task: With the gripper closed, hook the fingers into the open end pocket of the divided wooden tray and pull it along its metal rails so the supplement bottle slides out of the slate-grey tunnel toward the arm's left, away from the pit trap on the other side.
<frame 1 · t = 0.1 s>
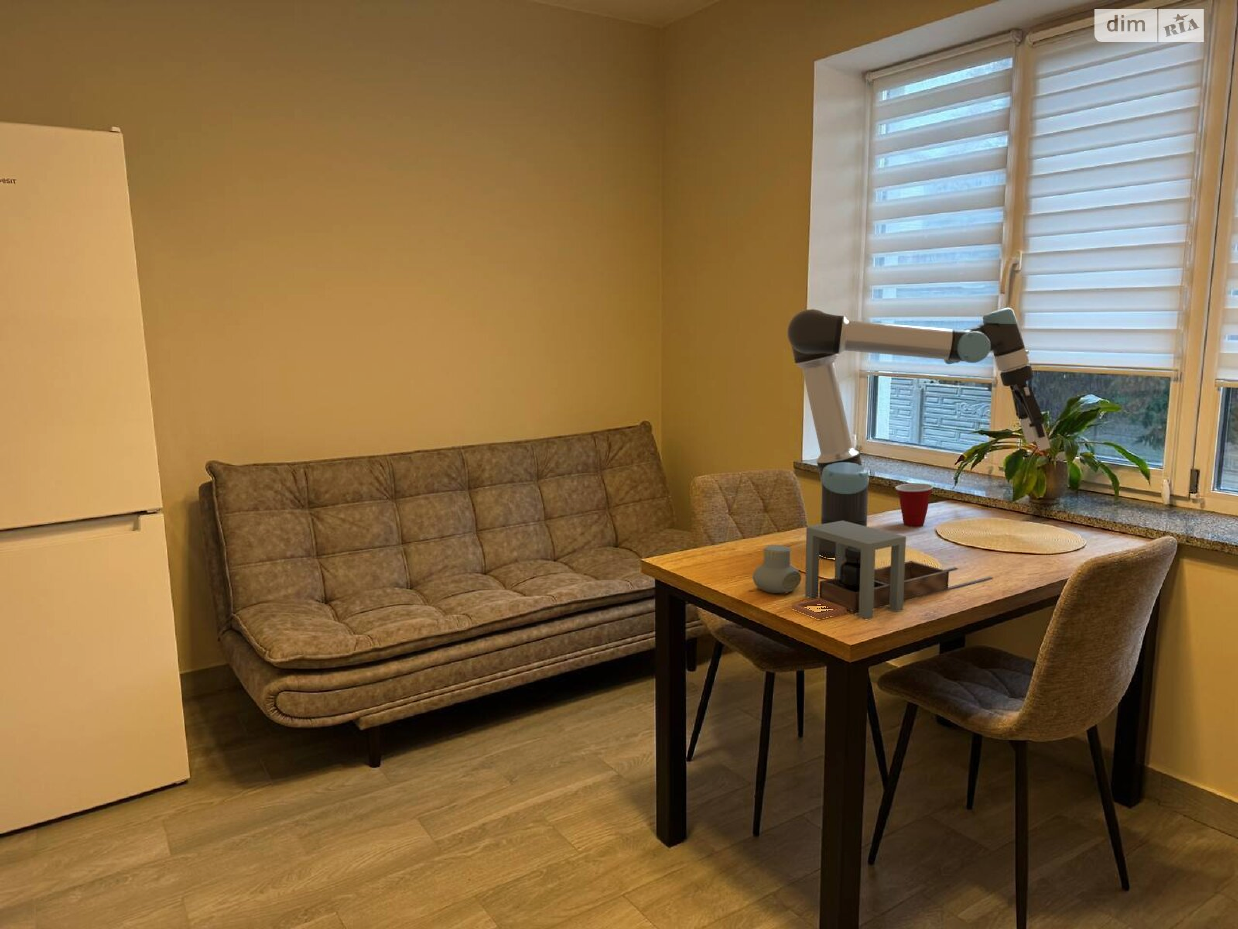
hand: (1038, 445, 226), 28 cm above the table, tool tilted 20°, fingers open, 13 cm apart
tunnel: (854, 602, 189), on the table
plastic cup: (912, 525, 259), on the table
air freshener: (776, 591, 199), on the table
pit trap: (818, 611, 184), on the table
divided wooden tray: (884, 585, 194), point 2 cm above the table, slide at 0.0 cm
supplement bottle: (854, 603, 189), resting in divided wooden tray
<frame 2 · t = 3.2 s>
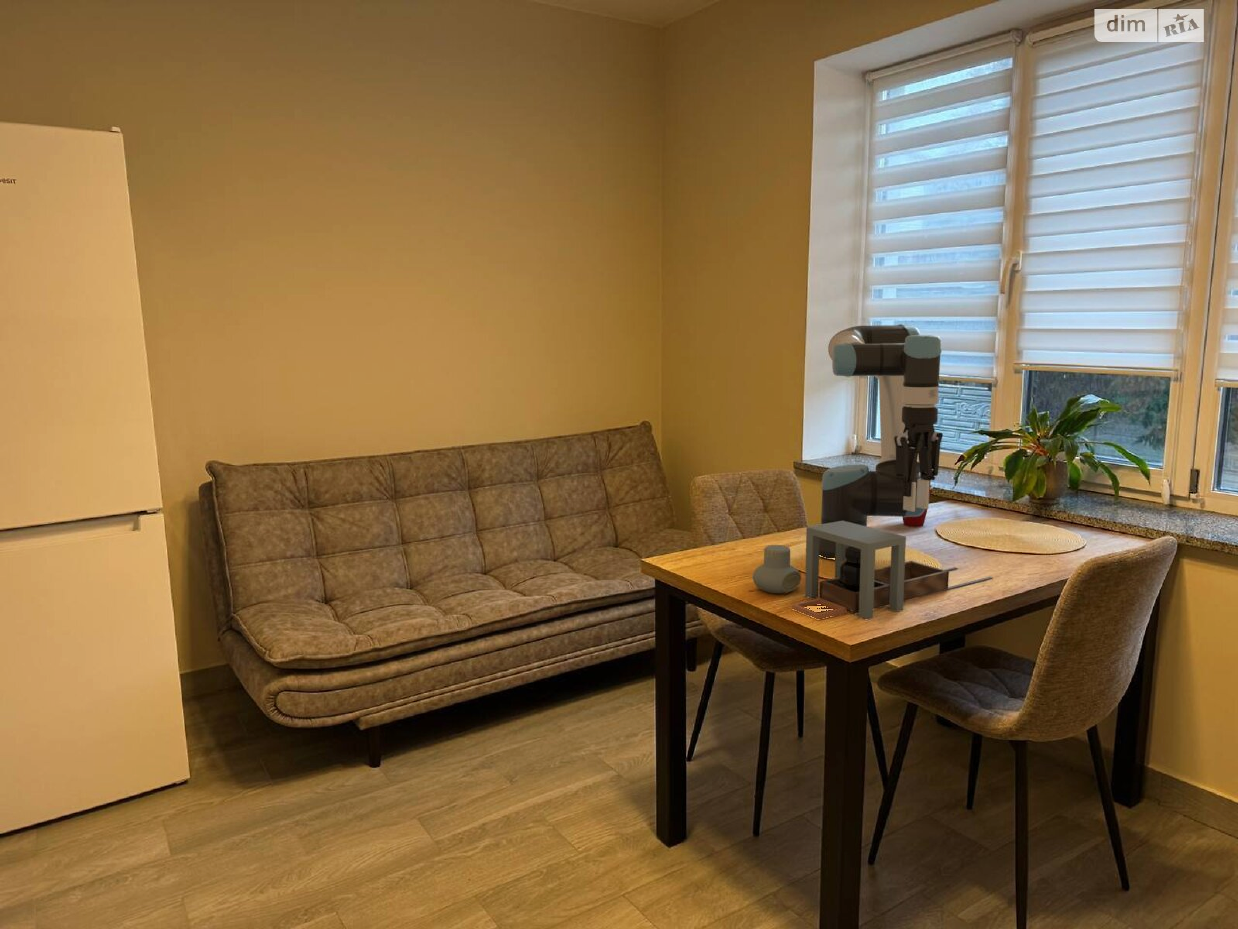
hand: (915, 508, 196), 19 cm above the table, tool pointing down, fingers open, 4 cm apart
nothing on the table moved.
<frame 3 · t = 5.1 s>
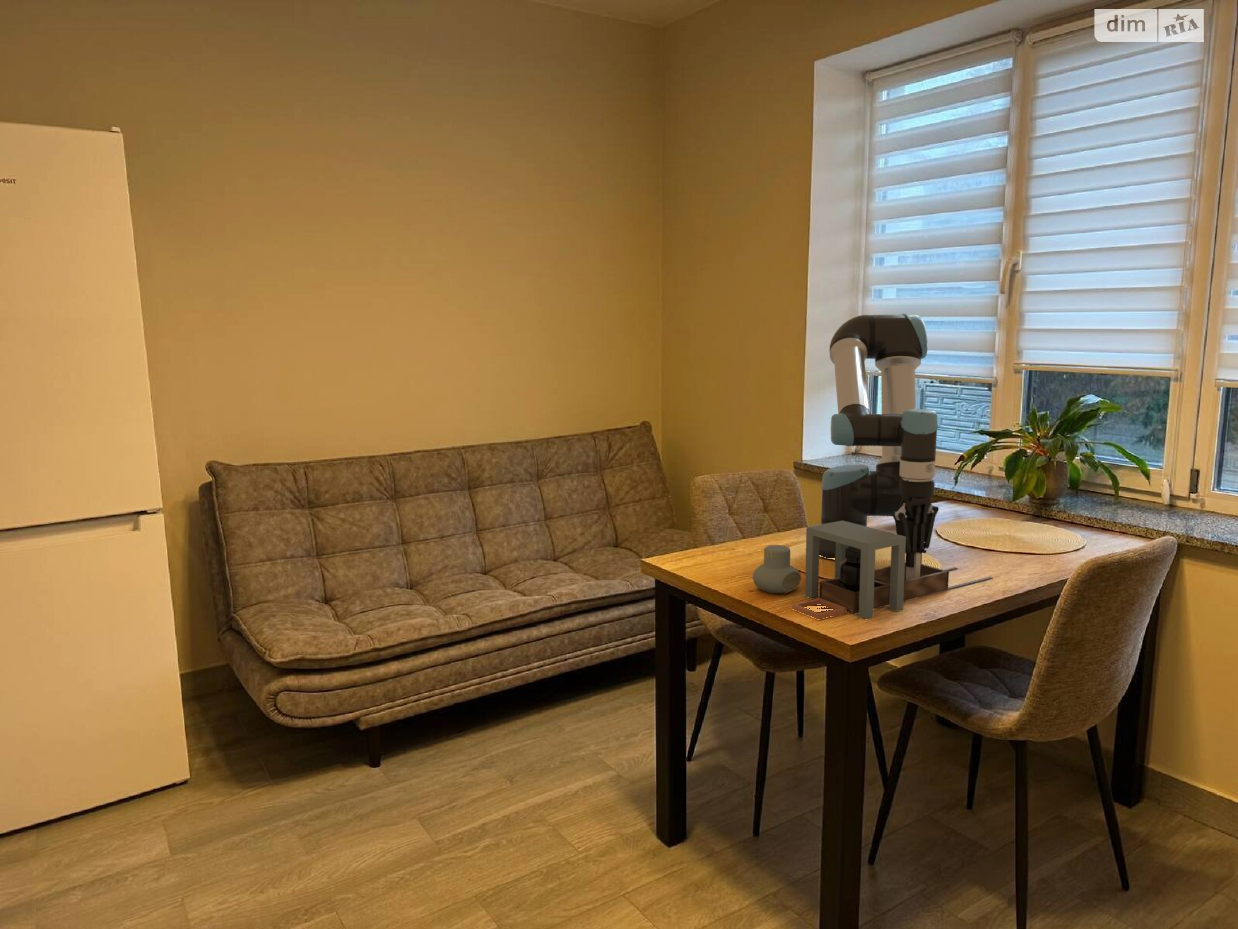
hand: (912, 580, 198), 2 cm above the table, tool pointing down, fingers closed
nothing on the table moved.
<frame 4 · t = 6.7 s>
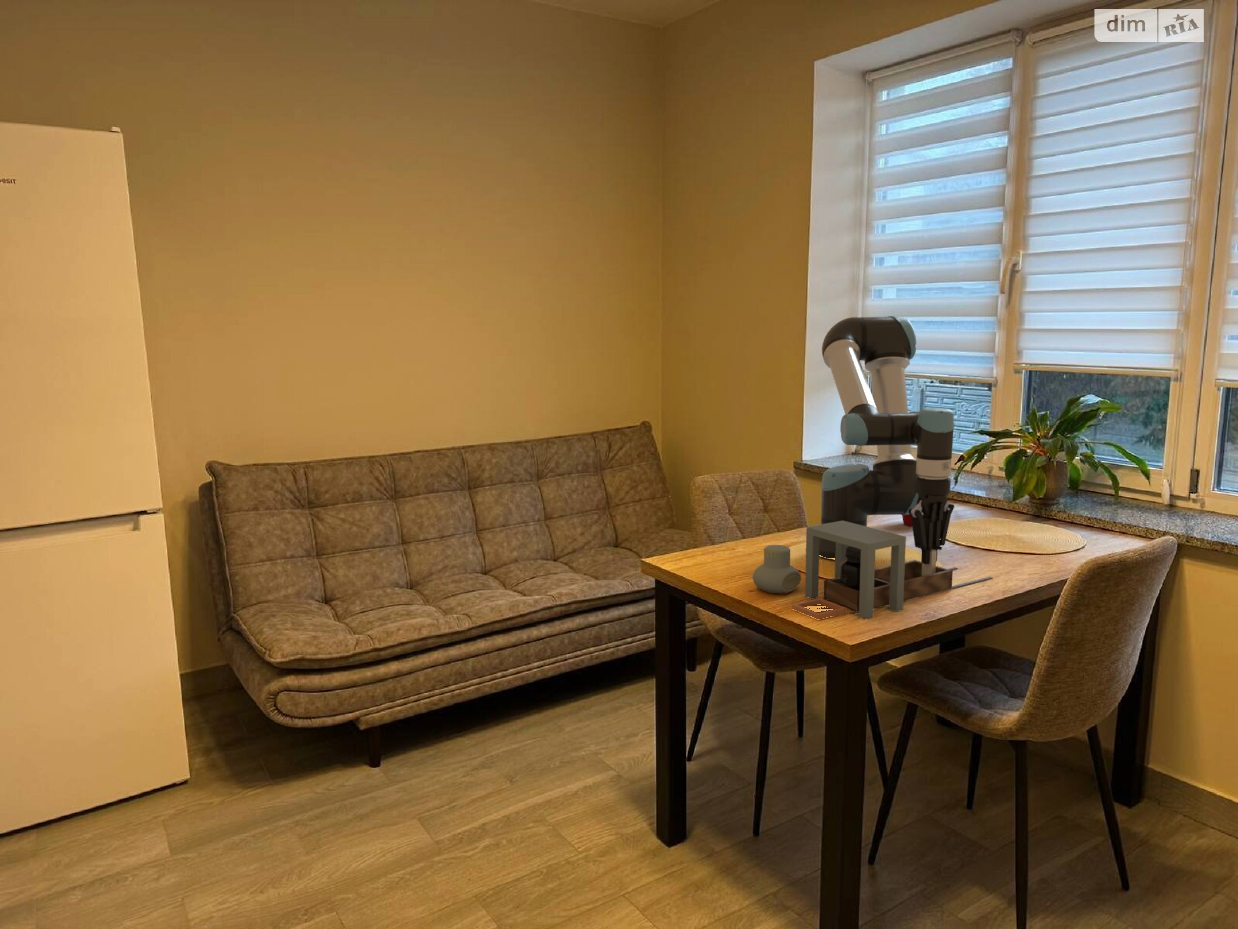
hand: (928, 576, 201), 2 cm above the table, tool pointing down, fingers closed
divided wooden tray: (889, 584, 194), point 2 cm above the table, slide at 1.3 cm, touching gripper, supplement bottle
supplement bottle: (855, 603, 189), resting in divided wooden tray
everything else where it was.
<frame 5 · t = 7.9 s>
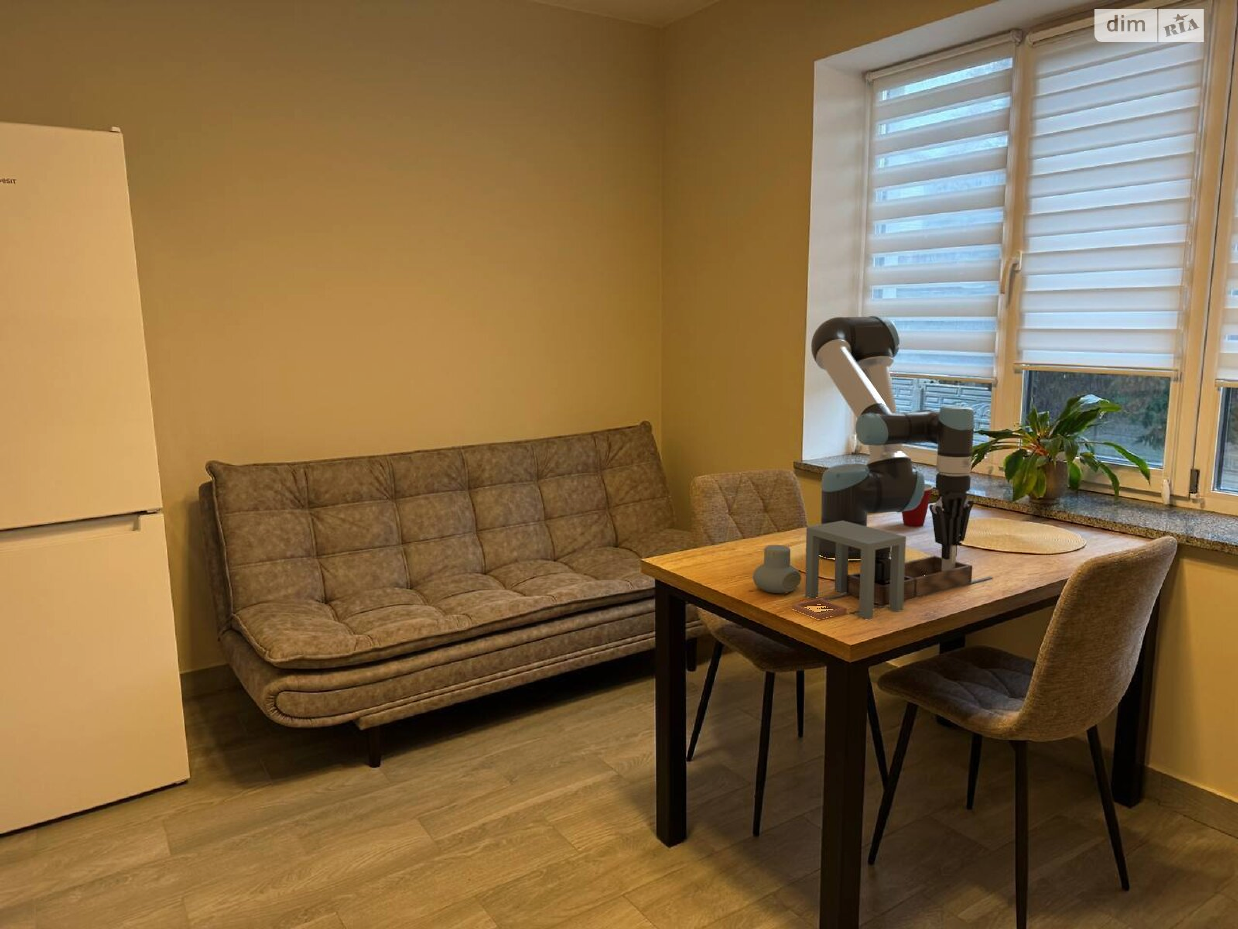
hand: (948, 571, 205), 2 cm above the table, tool pointing down, fingers closed
divided wooden tray: (910, 578, 198), point 2 cm above the table, slide at 8.2 cm, touching gripper, supplement bottle
supplement bottle: (877, 597, 193), resting in divided wooden tray
everything else where it was.
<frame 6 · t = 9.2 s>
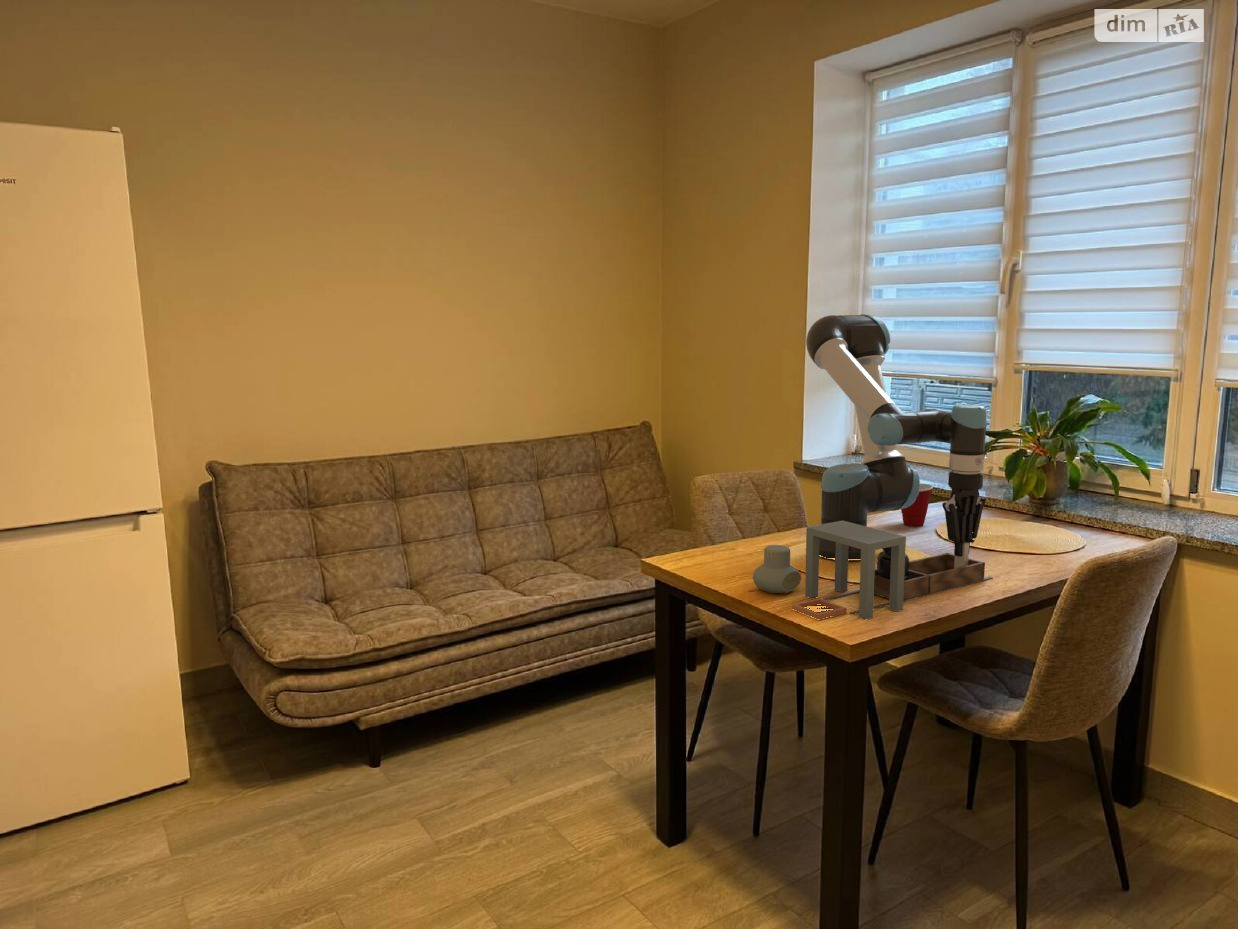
hand: (960, 568, 207), 2 cm above the table, tool pointing down, fingers closed
divided wooden tray: (923, 575, 200), point 2 cm above the table, slide at 12.8 cm, touching gripper, supplement bottle
supplement bottle: (891, 594, 195), resting in divided wooden tray
everything else where it was.
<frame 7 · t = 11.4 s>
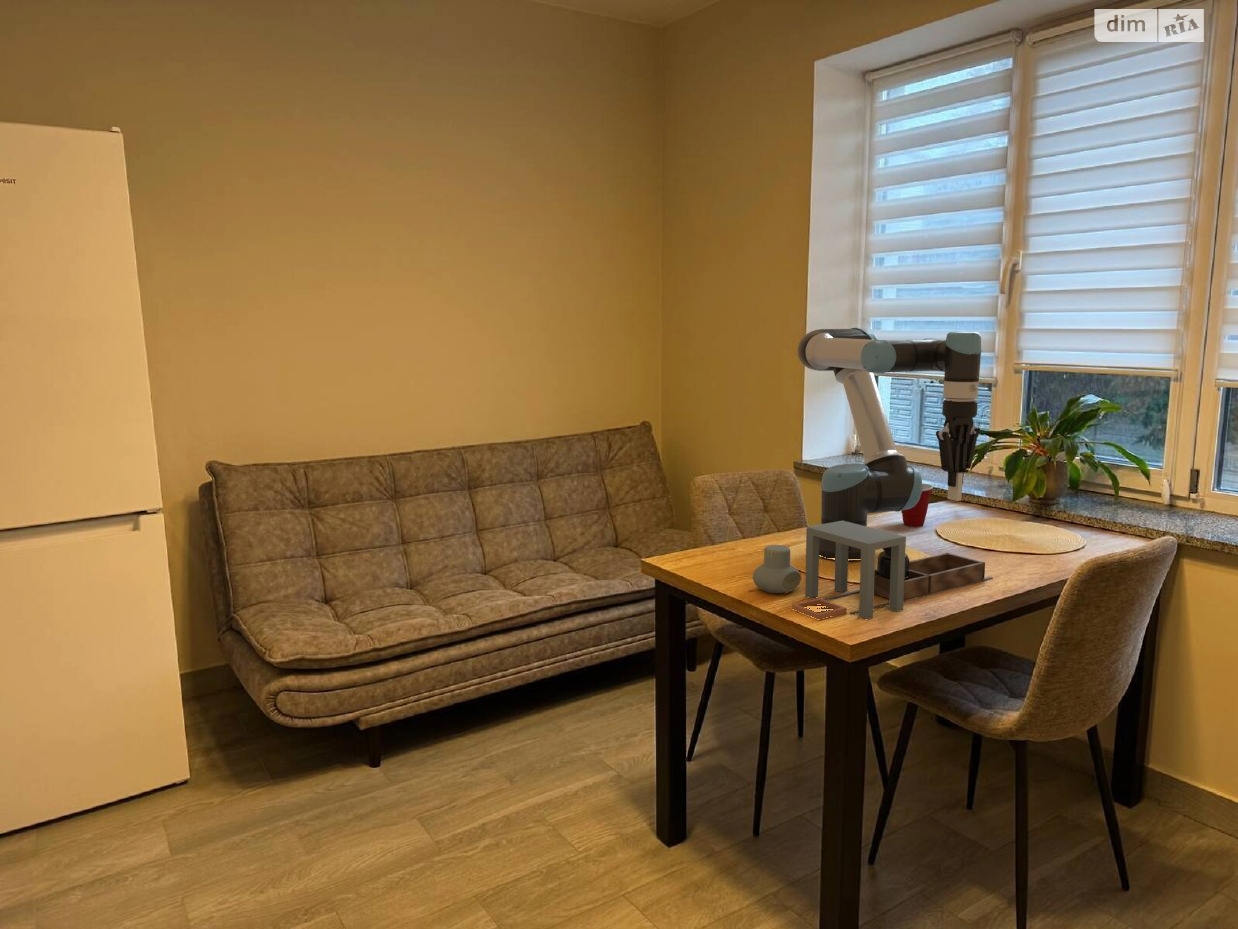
hand: (954, 499, 204), 19 cm above the table, tool pointing down, fingers closed
divided wooden tray: (923, 575, 200), point 2 cm above the table, slide at 12.8 cm
supplement bottle: (891, 594, 195), resting in divided wooden tray
everything else where it was.
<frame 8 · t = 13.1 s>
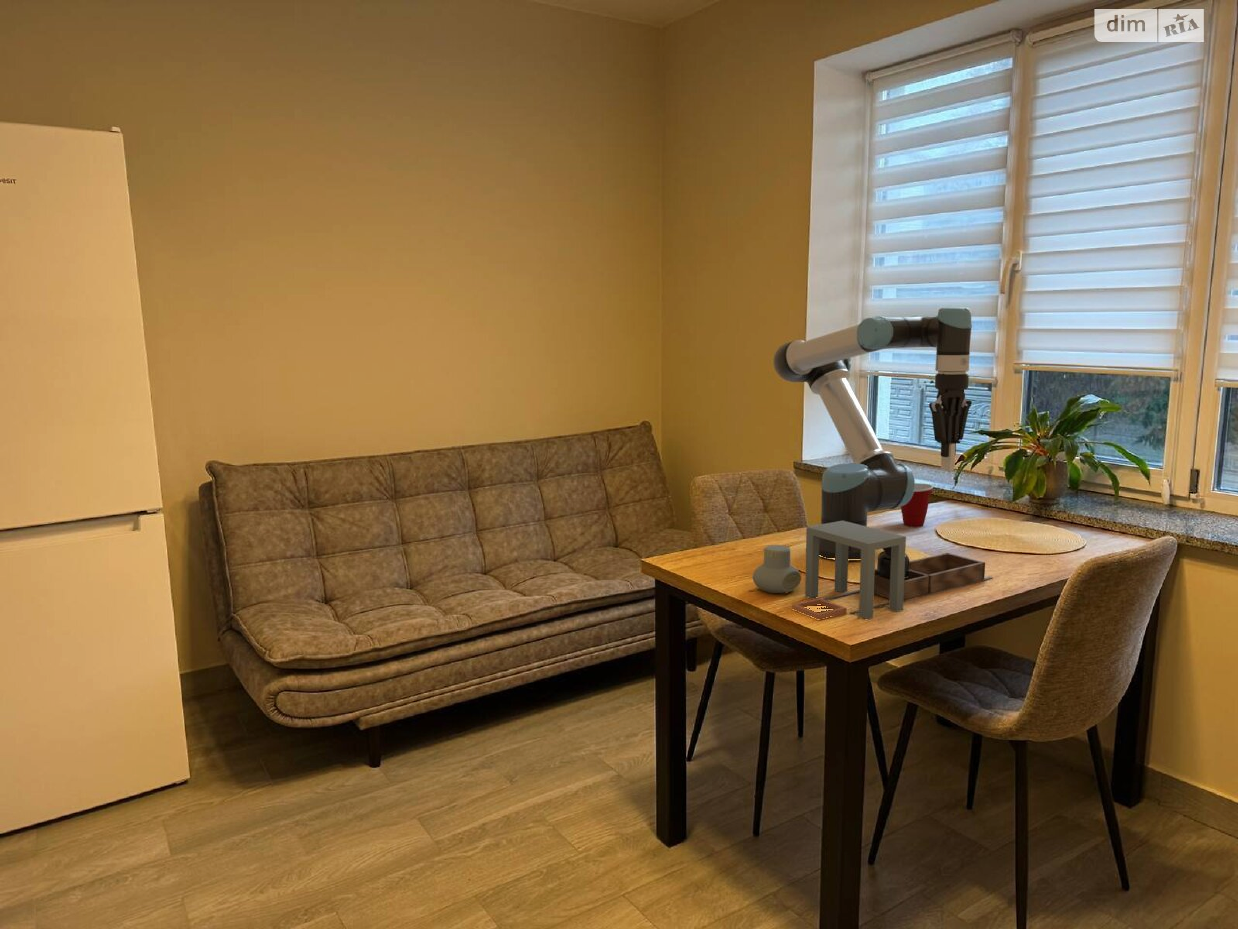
hand: (947, 469, 212), 24 cm above the table, tool pointing down, fingers closed
nothing on the table moved.
at the end: divided wooden tray slide at 12.8 cm; supplement bottle inside the target area (2.7 cm from its centre), resting in divided wooden tray; supplement bottle tilted 0° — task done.
